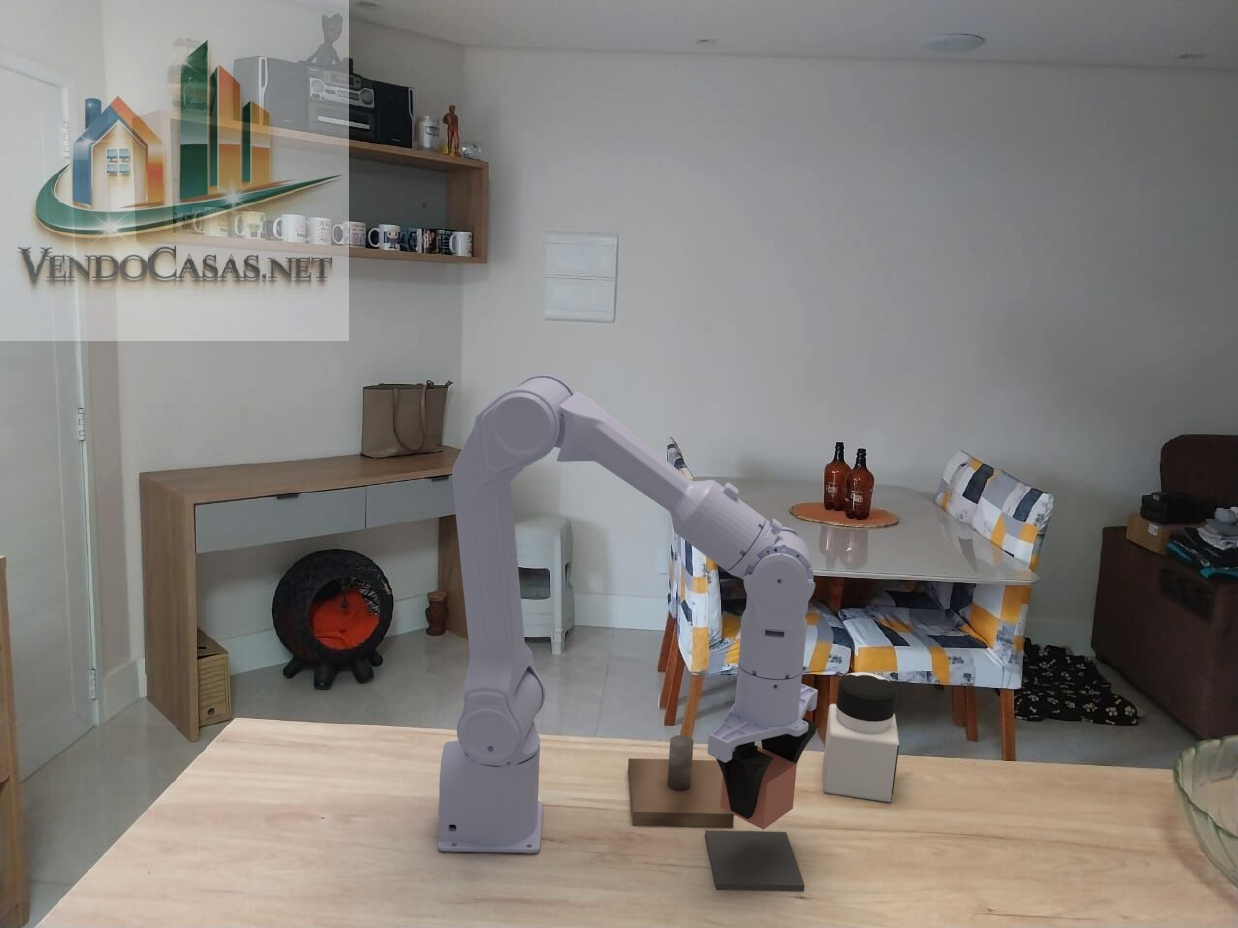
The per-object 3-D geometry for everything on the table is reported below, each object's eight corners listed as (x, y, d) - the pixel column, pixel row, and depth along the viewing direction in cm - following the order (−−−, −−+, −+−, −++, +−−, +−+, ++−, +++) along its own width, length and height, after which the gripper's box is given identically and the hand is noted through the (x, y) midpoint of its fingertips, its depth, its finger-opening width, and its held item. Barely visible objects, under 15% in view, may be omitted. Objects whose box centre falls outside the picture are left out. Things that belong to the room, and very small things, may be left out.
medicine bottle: (892, 804, 102) (905, 699, 99) (823, 793, 103) (834, 690, 101) (887, 769, 109) (900, 670, 106) (823, 759, 110) (833, 661, 107)
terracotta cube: (763, 829, 87) (767, 783, 86) (720, 807, 90) (723, 762, 89) (792, 808, 90) (796, 763, 89) (750, 787, 93) (753, 744, 92)
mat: (715, 889, 87) (716, 883, 87) (704, 835, 95) (705, 830, 95) (804, 890, 88) (804, 884, 87) (785, 837, 95) (786, 831, 95)
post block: (632, 825, 96) (636, 765, 95) (627, 770, 106) (630, 716, 104) (732, 826, 97) (737, 768, 95) (718, 772, 106) (723, 718, 105)
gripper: (760, 707, 79) (748, 854, 82) (851, 657, 89) (836, 789, 92) (692, 678, 83) (683, 818, 86) (786, 633, 94) (774, 760, 97)
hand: (758, 801), depth 90 cm, fingers closed on terracotta cube, 5 cm apart
